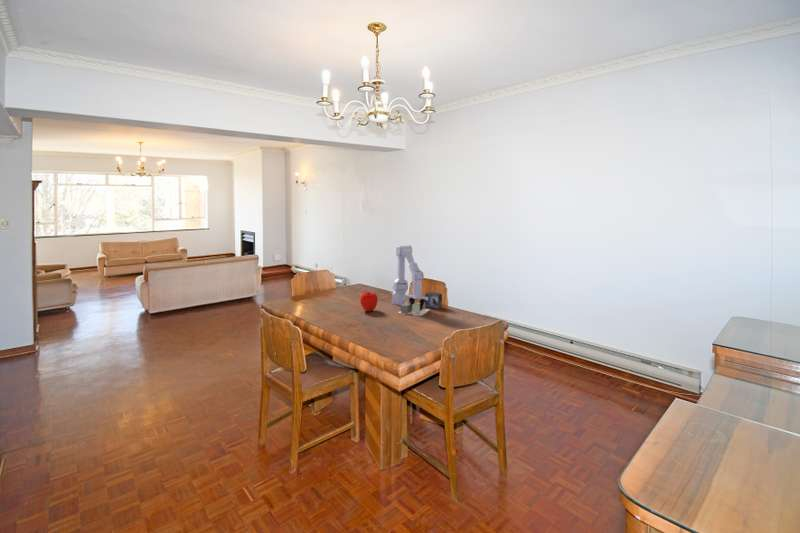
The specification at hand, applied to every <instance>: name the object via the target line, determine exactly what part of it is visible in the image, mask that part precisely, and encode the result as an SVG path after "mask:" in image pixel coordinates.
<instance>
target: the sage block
mask: <svg viewBox="0 0 800 533" xmlns="http://www.w3.org/2000/svg"><path fill="white" fill-rule="evenodd" d="M421 311H422V310H420V302H414V304H412V312H421Z"/></svg>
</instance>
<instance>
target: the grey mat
mask: <svg viewBox="0 0 800 533" xmlns="http://www.w3.org/2000/svg"><path fill="white" fill-rule="evenodd" d="M430 310H431V308H422V311H421V312H412V311H410V312H409V313H403V314H405V315H412V316H422V317H423V315H425V314H427V313H428V312H429V311H430ZM398 314H402V313H401V310H400V311H398Z"/></svg>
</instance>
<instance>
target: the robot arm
mask: <svg viewBox="0 0 800 533" xmlns="http://www.w3.org/2000/svg"><path fill="white" fill-rule="evenodd" d="M395 255H396V257H397V278H396V279H395V280H393V285H392V289H393V292H392V294H391V305H396V306H401V305H402V304H406V303H408V302H410V303H411V306H412V304H414V303H416V302H415V300H419V303H420V310H422V309H424V306H425V300H428V297H425V295H422V293H423V292H422V291H423V285H422V284H423V280H424V272H423V271H422V270H421V269H420V268H419V265H418V263H417V262H415V260H414V257H413V247H412V245H411V244H410V245H398V246H397V247H396V253H395ZM406 260H407V262H408V264H409V265H408V268H409V271H410V273H411V280H412V294H407V291H408V290H409V285H408V280H406V279H405V278H406V277H405V273H406V270H405V269H406V268H405V267H406ZM406 294H407V295H406ZM406 299H408V301H406Z"/></svg>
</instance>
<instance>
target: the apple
mask: <svg viewBox="0 0 800 533" xmlns="http://www.w3.org/2000/svg"><path fill="white" fill-rule="evenodd" d="M378 300H379V299H378V295H377V294H376V293H375V292H373V291H372V292H370V291H366V292H363V293H362V294H361V295H360V298H359V301H360V305H361V307H362V308H363V310H364V311H365V312H373V311H374V310H375V309H376V307H377V305H378Z"/></svg>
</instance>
